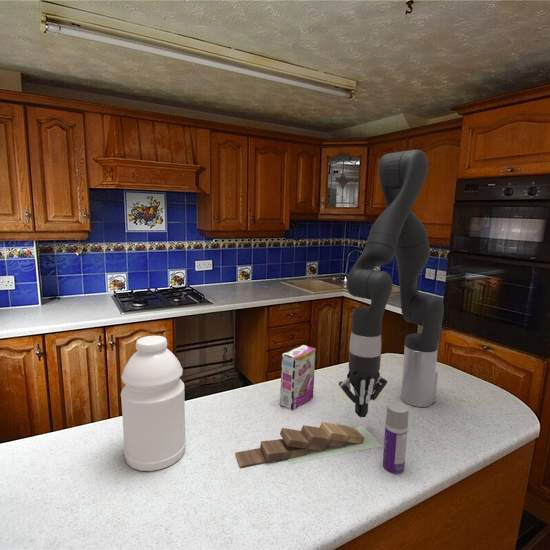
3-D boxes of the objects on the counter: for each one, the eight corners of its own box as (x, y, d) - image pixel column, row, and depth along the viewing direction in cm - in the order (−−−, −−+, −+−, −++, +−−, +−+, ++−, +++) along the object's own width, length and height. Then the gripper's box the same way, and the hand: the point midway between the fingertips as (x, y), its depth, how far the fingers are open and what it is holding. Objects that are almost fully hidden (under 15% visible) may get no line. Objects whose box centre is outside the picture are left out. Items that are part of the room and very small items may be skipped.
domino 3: (316, 433, 94) (282, 427, 90) (325, 445, 89) (289, 439, 86) (314, 439, 94) (279, 433, 90) (323, 451, 89) (287, 446, 86)
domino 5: (353, 426, 97) (321, 421, 94) (364, 437, 92) (330, 432, 89) (352, 432, 97) (319, 427, 94) (362, 443, 93) (328, 439, 89)
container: (378, 464, 86) (382, 403, 83) (394, 459, 87) (399, 400, 85) (391, 477, 81) (396, 414, 79) (408, 473, 83) (413, 410, 81)
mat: (362, 427, 100) (362, 425, 100) (381, 447, 92) (381, 445, 92) (277, 442, 93) (278, 441, 93) (290, 465, 85) (290, 464, 85)
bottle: (197, 442, 93) (195, 334, 88) (162, 479, 80) (158, 354, 75) (150, 430, 97) (146, 327, 93) (110, 463, 85) (103, 345, 80)
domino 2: (299, 436, 92) (260, 441, 89) (307, 449, 88) (267, 454, 84) (298, 442, 93) (260, 447, 89) (306, 455, 88) (266, 460, 84)
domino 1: (275, 444, 91) (235, 452, 88) (282, 457, 86) (240, 466, 83) (275, 450, 91) (235, 458, 88) (282, 464, 86) (240, 472, 83)
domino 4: (336, 430, 96) (302, 425, 92) (346, 441, 91) (311, 436, 87) (334, 435, 96) (300, 431, 92) (344, 447, 91) (309, 442, 87)
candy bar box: (293, 412, 107) (294, 358, 105) (279, 406, 111) (280, 353, 108) (314, 398, 116) (316, 347, 113) (301, 392, 119) (302, 343, 116)
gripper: (348, 358, 86) (344, 428, 89) (397, 353, 90) (392, 419, 93) (333, 347, 93) (330, 412, 96) (379, 342, 97) (375, 404, 100)
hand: (361, 415), depth 94 cm, fingers closed
